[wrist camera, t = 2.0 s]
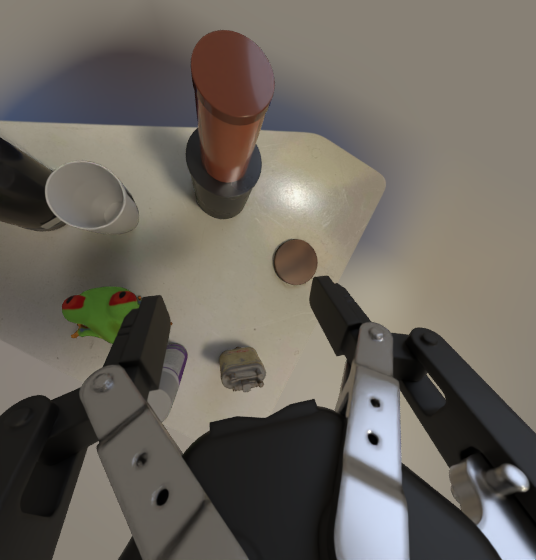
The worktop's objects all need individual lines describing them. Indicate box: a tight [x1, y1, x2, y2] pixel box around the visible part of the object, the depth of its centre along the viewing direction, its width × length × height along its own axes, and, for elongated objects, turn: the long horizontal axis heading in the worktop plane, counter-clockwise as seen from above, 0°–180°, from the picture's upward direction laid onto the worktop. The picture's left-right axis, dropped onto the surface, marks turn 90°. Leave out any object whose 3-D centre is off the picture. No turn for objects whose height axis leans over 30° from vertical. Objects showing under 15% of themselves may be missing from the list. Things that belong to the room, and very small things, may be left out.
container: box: [147, 343, 188, 422], centre depth 30 cm, size 5×5×15 cm
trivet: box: [274, 239, 317, 285], centre depth 43 cm, size 9×9×1 cm
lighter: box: [219, 347, 266, 392], centre depth 36 cm, size 7×4×10 cm, turn 94°
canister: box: [191, 30, 275, 183], centre depth 22 cm, size 6×6×12 cm
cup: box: [45, 161, 139, 234], centre depth 30 cm, size 8×8×10 cm
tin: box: [186, 128, 262, 219], centre depth 33 cm, size 10×10×12 cm
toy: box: [62, 287, 172, 344], centre depth 31 cm, size 14×9×10 cm, turn 95°
